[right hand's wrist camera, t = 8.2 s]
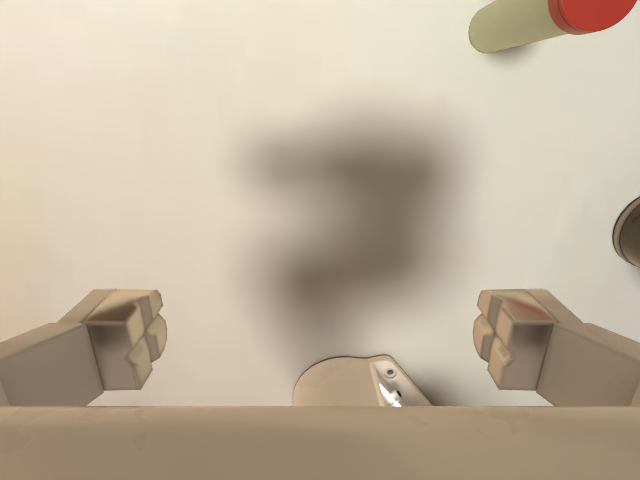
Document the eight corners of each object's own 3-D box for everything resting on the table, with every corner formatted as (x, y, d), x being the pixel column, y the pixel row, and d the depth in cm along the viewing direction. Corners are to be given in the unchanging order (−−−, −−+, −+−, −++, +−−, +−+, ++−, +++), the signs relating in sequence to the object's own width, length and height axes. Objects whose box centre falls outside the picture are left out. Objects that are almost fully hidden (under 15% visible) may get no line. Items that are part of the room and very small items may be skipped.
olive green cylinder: (512, 1, 38) (638, -61, 23) (511, 49, 39) (629, 21, 24) (468, 9, 38) (563, -47, 23) (469, 56, 40) (559, 33, 24)
